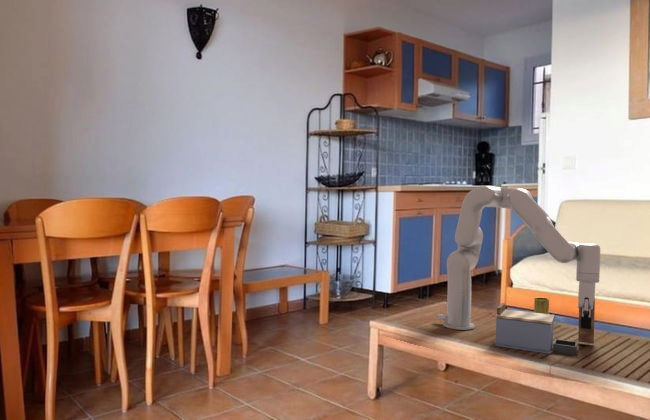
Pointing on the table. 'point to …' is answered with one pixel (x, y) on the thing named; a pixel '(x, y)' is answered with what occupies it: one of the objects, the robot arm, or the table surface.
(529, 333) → the toolbox
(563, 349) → the socket
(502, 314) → the lid
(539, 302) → the vase
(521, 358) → the table surface
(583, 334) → the brown wooden block
